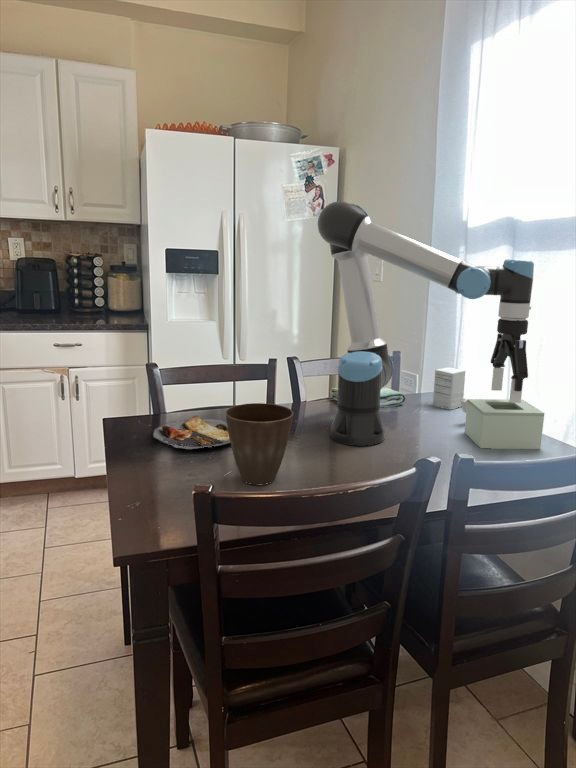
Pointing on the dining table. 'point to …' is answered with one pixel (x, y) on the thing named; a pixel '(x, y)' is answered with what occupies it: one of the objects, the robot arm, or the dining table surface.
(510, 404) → the box
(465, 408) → the lighter
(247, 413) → the plant pot
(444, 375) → the supplement box
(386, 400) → the towel
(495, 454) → the dining table surface
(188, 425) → the food plate
